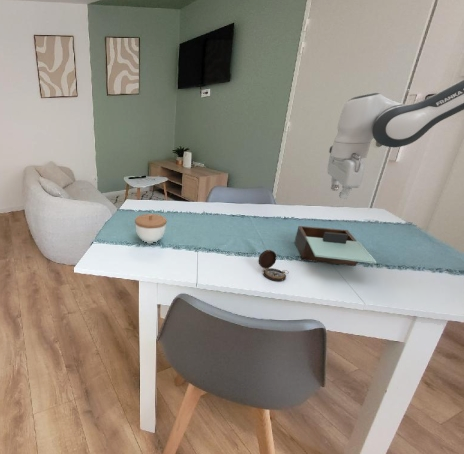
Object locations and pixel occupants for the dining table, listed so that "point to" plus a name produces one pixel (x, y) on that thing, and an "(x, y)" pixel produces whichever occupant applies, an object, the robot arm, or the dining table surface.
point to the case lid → (339, 248)
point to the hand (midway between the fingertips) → (338, 194)
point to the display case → (316, 232)
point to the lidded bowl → (150, 227)
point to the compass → (266, 262)
